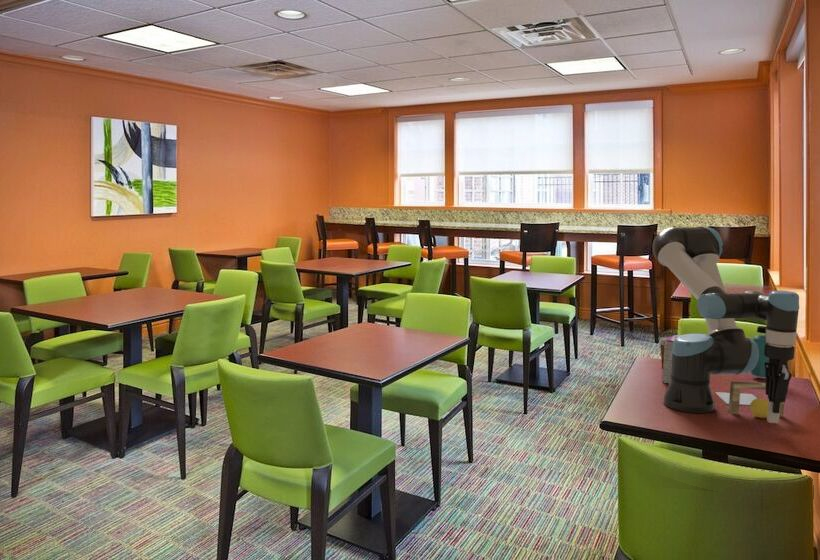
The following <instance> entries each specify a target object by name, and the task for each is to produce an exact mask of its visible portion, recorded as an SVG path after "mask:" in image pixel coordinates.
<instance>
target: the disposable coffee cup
mask: <svg viewBox="0 0 820 560" xmlns="http://www.w3.org/2000/svg"><path fill="white" fill-rule="evenodd" d="M670 337H671V336H662V337H661V338H660V339H659V345H660V359H661V361H660V362H661V369H663V360H664V340H666V339H668V338H670Z"/></svg>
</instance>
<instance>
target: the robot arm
mask: <svg viewBox="0 0 820 560" xmlns="http://www.w3.org/2000/svg"><path fill="white" fill-rule="evenodd" d="M723 246H724V243H723V238H722V237H721V235H720V233H719V232H718V231H717V230H716V229H714V228H712V227H708V226H707V227H705V226H697V227H693V226H692V227H690V226H689V227H688V226H687V227H684V226H683V227H677V226H676V227H675V226H672V227H667V228H664V229H662V230H661V231H660V232H658V234H656V236H655V238H654V239H653V242H652V254H653V256H654V258H655V259H656V261H657V262H658V264H660V265H662V266H664V267H667V268H668V270H670V271H671V273H672V274H674V276H675V277H676V278H677V279H678V280H679V281H680V283H682V284H683V286H684V287H685V288H686V289H687V290H688V291H689V292H690V293H691V295H693V297H694V299H696V300H697V302H696V309H697V310H698V314H699V315H700V317H702V318H704V320H705V322H706V327H707V330H708V333H707V334H705V333H686V334H685V333H684V334H681V335H680V336H678V337H677V338H676V339H675V340H674V343H673V349H672V368H671V381H670V383H669V384H668V386H667V388H666V390H665V393H664V395H663V404H664V405H665V406H666V407H668V408H670V409H672V410H675V411H680V412H683V413H684V412H685V413H690V414H708V413H711V412H713V411H714V410H715V400H714V396H713V392H712V389H711V387H710V386H711V385H710V384H711V376H712V375H740V374H748V373H751V371H752V370H753V369H754V368H755V366H756V365H757V361H758V358H759V350H758V346H757V344H756V342H755V341H754V340H753V338H751V337H748V336H747V337H746V334H745V331H744V329H743V328H742V327H739V326H738V325H737V323H736V320H735V319H754V318H755V319H759V320H764V321H766V325H765V327H766V333H764V335H765V341H766V342H767V343H766V344H765V349H764V355H765V356H766V357H768V358H769V362H765V363H764V364H765V377H764V378H765V383H766V390H765V395H766V396H767V399H768V402H769V403H768V415H767V417H766V422H768V423H769V424H779V423H780V418H781V417H780V406H781V403H782V402H785V403H786V398H787V394H788V389H789V385H790V382H791V379H792V376H793V374H792V373H790V372H788V370H789V365H788V362H789V361H792V360H794V359H795V354H796V353H795V350H796V347H795V346H796V340H797V337H798V333H797V329H798V320H799V310H800V295H799V294H798V293H797V292H795V291H789V290H788V291H787V290H772V291H769V294H767V293H762V292H760V291H754V290H752V291H750V290H747V291H744V292H743V293H742V292H741V293H739V292H738V293H737V292H736V293H735V292H733V293H732V292H731V293H728V292H727V291H726V289H725V287H724V286H725V285H724V283H723V282H724V281H723V279H722V277H721V276H722V275H721V273H720V270H719V267H718V262H719V260H720V257H721V255H722V253H723V249H724V248H723Z"/></svg>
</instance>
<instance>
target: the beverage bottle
mask: <svg viewBox="0 0 820 560" xmlns="http://www.w3.org/2000/svg"><path fill="white" fill-rule="evenodd" d="M756 332H757V333H759V334H756V335H755V336H753V338H752V339H753V340H754V341H755V342H756V344H757V346H758V350H759V358H758V361H757V365H756V366H755V368H754V369H753V370H752V371H750V374H751V375H752V376H754V377H760V378H765V364H764V363H765V362H769V358H768V357H766V356H765V355H764V349H765V344H766V343H767V342H766V341H765V334H766V325H765V326H763V325H762V326H761V325H759V326H757V328H756Z"/></svg>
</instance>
